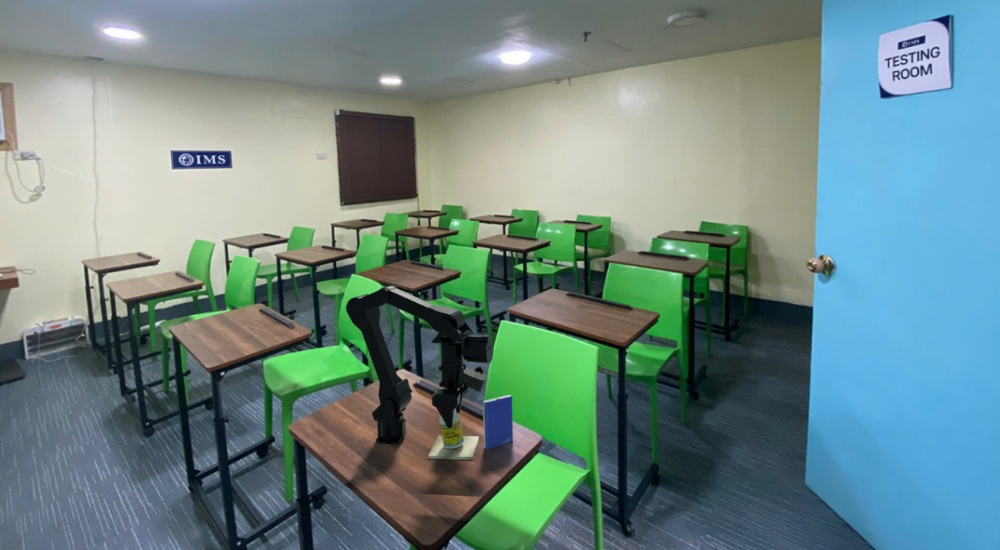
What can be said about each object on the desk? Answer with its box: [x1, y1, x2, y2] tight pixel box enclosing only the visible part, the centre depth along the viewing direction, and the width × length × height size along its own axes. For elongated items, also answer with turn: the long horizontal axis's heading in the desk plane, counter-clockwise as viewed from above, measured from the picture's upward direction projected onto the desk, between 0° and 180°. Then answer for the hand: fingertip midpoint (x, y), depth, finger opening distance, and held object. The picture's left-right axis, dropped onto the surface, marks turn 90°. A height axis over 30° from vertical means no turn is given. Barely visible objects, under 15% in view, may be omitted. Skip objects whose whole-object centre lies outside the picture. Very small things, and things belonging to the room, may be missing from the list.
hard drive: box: [482, 394, 514, 450], centre depth 122 cm, size 2×8×12 cm, turn 121°
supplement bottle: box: [438, 408, 464, 449], centre depth 120 cm, size 5×5×10 cm
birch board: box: [427, 434, 480, 461], centre depth 121 cm, size 11×11×2 cm
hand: (453, 419), depth 120 cm, fingers open, 9 cm apart
